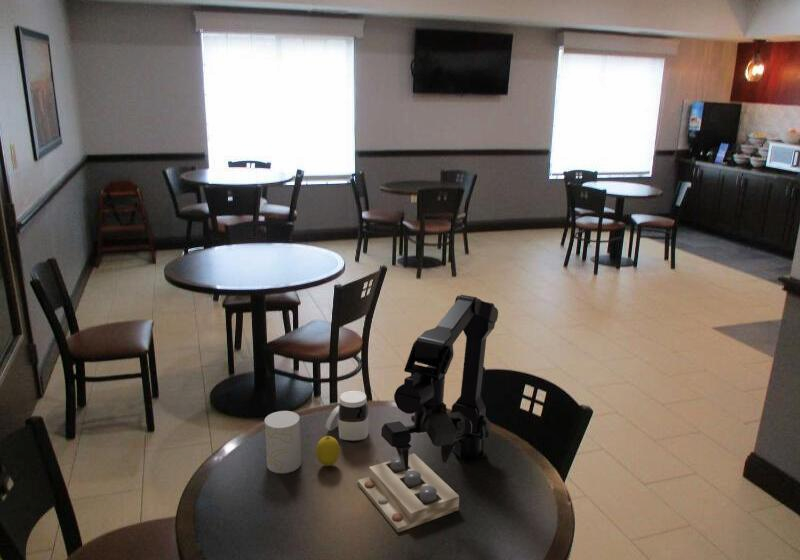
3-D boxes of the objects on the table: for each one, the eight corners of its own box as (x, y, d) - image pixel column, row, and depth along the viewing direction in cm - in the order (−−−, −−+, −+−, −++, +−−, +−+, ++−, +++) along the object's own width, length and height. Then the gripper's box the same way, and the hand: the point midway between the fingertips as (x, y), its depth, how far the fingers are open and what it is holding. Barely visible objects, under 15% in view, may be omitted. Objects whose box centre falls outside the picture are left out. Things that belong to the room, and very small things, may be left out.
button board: (413, 466, 148) (414, 453, 148) (458, 510, 133) (459, 496, 132) (357, 483, 141) (357, 470, 140) (397, 532, 125) (398, 518, 125)
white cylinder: (260, 468, 147) (257, 423, 144) (279, 451, 154) (276, 408, 151) (289, 476, 144) (287, 430, 141) (307, 458, 151) (305, 414, 148)
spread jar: (367, 447, 156) (366, 406, 153) (322, 446, 157) (321, 405, 153) (369, 423, 168) (369, 384, 165) (328, 423, 168) (327, 384, 165)
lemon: (336, 473, 145) (335, 443, 143) (313, 470, 146) (312, 440, 144) (342, 460, 150) (342, 431, 148) (321, 458, 151) (320, 429, 149)
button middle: (415, 477, 139) (415, 468, 139) (423, 485, 136) (423, 476, 136) (401, 481, 138) (401, 473, 137) (409, 490, 135) (409, 481, 134)
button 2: (430, 492, 134) (430, 483, 133) (439, 501, 131) (439, 492, 130) (416, 497, 132) (416, 488, 132) (425, 506, 129) (425, 497, 129)
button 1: (401, 463, 145) (401, 454, 144) (408, 470, 142) (409, 462, 141) (387, 467, 143) (387, 458, 142) (395, 475, 140) (395, 466, 139)
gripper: (406, 418, 115) (402, 494, 118) (489, 405, 123) (483, 476, 126) (381, 396, 125) (378, 467, 128) (460, 385, 133) (455, 452, 136)
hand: (425, 466), depth 129 cm, fingers open, 9 cm apart
